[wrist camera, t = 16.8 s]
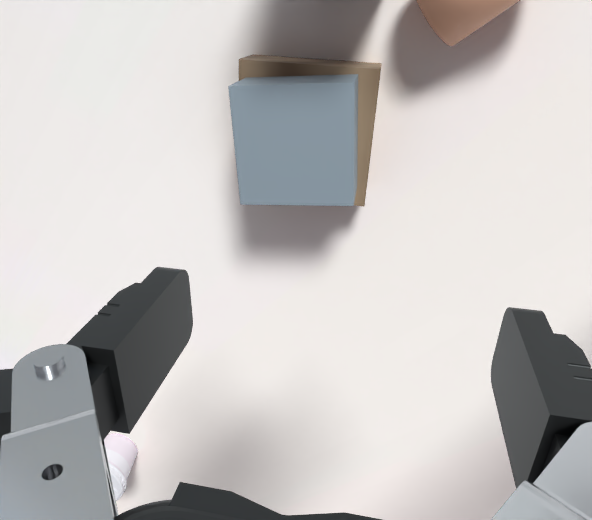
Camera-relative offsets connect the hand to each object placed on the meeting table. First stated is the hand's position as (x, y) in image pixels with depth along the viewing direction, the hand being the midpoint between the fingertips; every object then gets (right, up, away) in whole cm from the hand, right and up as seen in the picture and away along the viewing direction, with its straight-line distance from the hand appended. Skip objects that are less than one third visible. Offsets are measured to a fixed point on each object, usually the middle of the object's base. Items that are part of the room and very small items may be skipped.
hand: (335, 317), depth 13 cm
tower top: (0, +11, +24) cm, 26 cm away
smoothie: (-23, -20, +54) cm, 62 cm away
